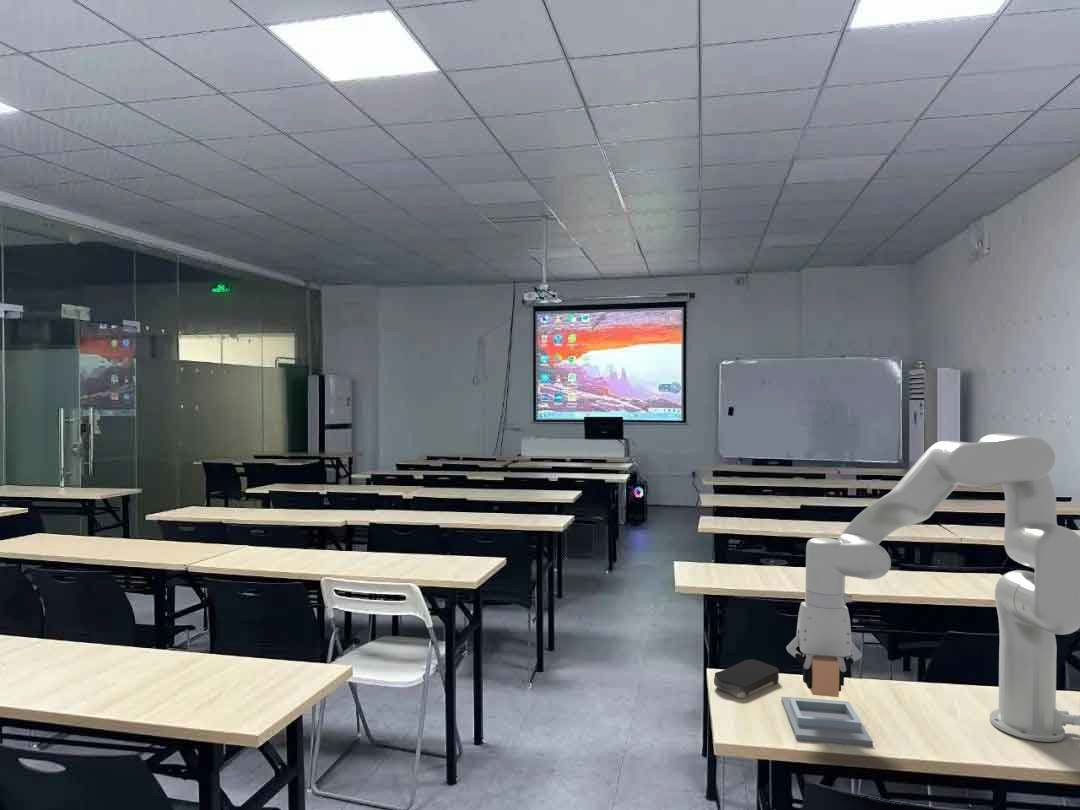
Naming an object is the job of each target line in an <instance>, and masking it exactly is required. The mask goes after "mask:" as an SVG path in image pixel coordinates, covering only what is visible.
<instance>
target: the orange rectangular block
mask: <svg viewBox="0 0 1080 810" xmlns="http://www.w3.org/2000/svg"><path fill="white" fill-rule="evenodd" d="M811 669H812V688H811V689H809V690H810V693H811V694H812V696H818V697H834V698H840V691H839V661H838V660H837V658H836V657H828V656H815V655H814V656H813V659H812V662H811Z"/></svg>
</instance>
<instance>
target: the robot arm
mask: <svg viewBox="0 0 1080 810" xmlns="http://www.w3.org/2000/svg"><path fill="white" fill-rule="evenodd" d="M1055 462H1056V454H1055V451H1054V449H1053V448H1052V446H1051V445H1050V444H1049V442H1047V441H1045V440H1044V439H1042V438H1039V437H1037V436H1033V435H1025V434H1024V435H1023V434H1022V435H1021V434H1013V433H1012V434H1011V433H990V434H987V435H985V436H983V437H981V438H980V439H979V440H978V441H977V442H967V441H958V440H957V441H956V440H941V441H940V440H939V441H937V442H935V443H934V444H932V445H931V446H930V447H928V449H926V451H924V453H923V454H922V455H921V456H920V457H919V459H918V460H917V461H916V462H915V463H914V464H913V466H912V467H911V468H910V469H909V470H908V471H907V473H905V475H904V476H903V477H902V478H901V479H900V480H899V481H898V483H897V484H896V485H895V486H894V487H893V488H892V490H890V492H888V493H887V494H885V495H883V496H882V497H880V498H879V499H878V500H876V501H875V502H874V503H872V504H870V505H868V506H867V507H866V508H864V509H863V510H862V511H861V512H860V513H859V514H857V515H856V516H855V517H854V518H853V519H852V520H851V521H850V523H849V524H848V525H847V526H846V527H845V528H844V530H842V532H841V533H840V534H839V536H838V538H837V539H835V538H829V537H813V538H811V539H809V540H808V541H807V543H806V548H805V549H806V550H805V589H804V590H805V593H804V595H805V598H804V601H802V602H801V603H800V606H799V611H798V617H797V623H796V624H797V625H796V636H795V637H794V638H793V639H792V640H791V641H790V642H789V643H788V645H786V646H785V647H786V651H787V652H788V654H790V655H791V656H792V657H794V658H795V659H796V660H797V662H798V663H800V665H802V681H803V683H805V685H806V687H807V689H808V690H810V689H811V688H812V669H811V662H812V659H813V656H814V655H815V656H828V657H836V658H837V660H838V661H839V692H841V691H842V687H844V686H845V672H846V671H847V669H848V668H849V667H851V666H852V665H853V664H854V663H855V662H857V661H858V660H860V659H862V657H863V654H862V652H861V651H860V650H859V649H858V647H857V646H856V644H855V643H854V642H853V640H852V629H851V619H850V614H849V608H848V607H847V605H846V604H847V603H852V602H853V596H852V595H851V594H847V593H846V577H851V578H857V579H863V580H877V579H881V578H882V577H885V576H886V575H887V573H889V571H890V569H891V566H892V565H891V564H892V560H891V556H890V555H889V553H888V552H887V550H886V549H885V548H884V547H883V546H882V545H880V543H881V542H882V541H884V539H886V538H887V537H888V536H889V535H891V534H893V532H895V531H897V530H899V529H901V528H905V527H908V526H912V525H917V524H919V523H921V522H924V521H926V520H928V519H930V518H931V516H932V515H933V514H934V513H935V511H936V510H937V509H938V508H939V507H940V506H941V505H942V504H943V503H944V501H945V500H946V499H947V497H949V496H950V494H951V493H952V492H953V491H954V490H955V489H956V488H957V487H958V486H964V487H970V488H971V487H972V488H973V487H989V486H999V485H1000V486H1001V487H1002V490H1003V493H1004V502H1005V509H1004V510H1005V513H1004V534H1003V535H1004V540H1003V541H1004V543H1003V544H1004V549H1005V552H1006V554H1007V556H1008V557H1009V558H1010V559H1011V560H1013V561H1014V562H1017V563H1018V564H1021V565H1023V566H1026V567H1028V568H1030V569H1031V568H1032V570H1033V569H1034V572H1033V571H1029V570H1021V569H1016V570H1011V571H1008V572H1006V573H1004V574H1003V575H1002V576H1001V577H1000V578H999V579H998V581H997V582H996V585H995V589H994V599H995V600H994V601H995V607H996V610H997V617H998V630H999V647H998V649H999V650H998V651H999V652H998V657H999V658H998V709H995V710H993V711H991V712H990V714H989V722H990V723H991V724H992V726H994V727H995V728H997V729H998V730H1000V731H1002V732H1004V733H1006V734H1009V735H1012V736H1014V737H1017V738H1020V739H1025V740H1028V741H1034V742H1041V743H1054V742H1060V741H1062V740H1064V739H1065V737H1066V730H1065V728H1064V727H1065V726H1067V725H1071V726H1079V727H1080V714H1079V715H1078V714H1077V715H1076V714H1069V711H1068V710H1058V708H1056V705H1057V648H1058V647H1057V639H1056V635H1070V634H1073V633H1074V632H1076V631H1078V630H1079V629H1080V535H1079V534H1078V533H1077V532H1075V531H1074V530H1072V529H1070V528H1069V527H1068V528H1067V527H1066V526H1062V525H1058V522H1057V520H1058V519H1057V517H1058V516H1057V495H1056V490H1055V487H1054V483H1053V481H1052V479H1051V478H1050V476H1049V473H1050V472H1051V471H1052V470H1053V469H1054V466H1055V464H1056V463H1055ZM797 647H798V648H799V650H800V652H799V651H798V650H797Z"/></svg>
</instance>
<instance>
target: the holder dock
mask: <svg viewBox="0 0 1080 810" xmlns="http://www.w3.org/2000/svg"><path fill="white" fill-rule="evenodd" d="M780 698H781V700H780V702H781V704H782V707H783V710H784V712H785V714H786V717H787V719H788V723H789V725H790V727H791V730H792V733H793V735H794V739H795V740H797V741H805V742H806V741H808V742H817V743H818V742H819V743H820V742H821V743H830V744H831V743H832V744H843V745H853V746H866V747H873V746H874V740H873V738H872V737H871V736H870V734H869V733H868V731H867V730H866V728H865V726H864V725H863V722H862V721H861V719H860V717H859V716H858V714H857V713H856V711H855V709H854V708H853V706H852V705H851V703H850V702H849V701H845V700H844V701H843V700H831V699H820V698H805V697H793V696H791V697H790V696H781V697H780Z"/></svg>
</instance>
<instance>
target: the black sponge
mask: <svg viewBox="0 0 1080 810" xmlns="http://www.w3.org/2000/svg"><path fill="white" fill-rule="evenodd" d="M779 672H780V669H778V667H777V666H774V665H771V664H768V663H766V662H763V661H760V660H757V659H754V658H753V659H751V658H750V659H745V660H743V661H741V662H738V663H737V664H734V665H731V666H729V667H727V668H725V669H723V670H720V671H716V672H715V673H714V678H713V684H714V686H715V687H716V688H717V689H719V690H721V691H724V692H726V693H727V694H730V695H732V696H734V697H736V698H739V699H747V698H748V697H750V696H751V695H754V694H756V693H758V692H760V691H762V690H764V689H767V688H769V687H771V686H772V685H776V684H777V683H779V680H780V679H779V678H780V677H779Z"/></svg>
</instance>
